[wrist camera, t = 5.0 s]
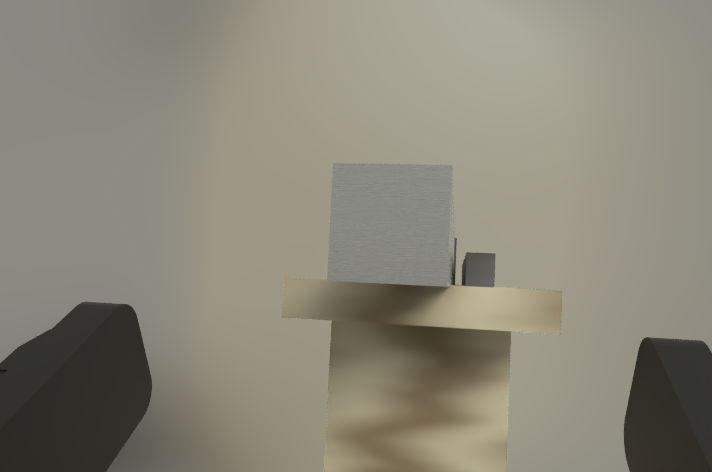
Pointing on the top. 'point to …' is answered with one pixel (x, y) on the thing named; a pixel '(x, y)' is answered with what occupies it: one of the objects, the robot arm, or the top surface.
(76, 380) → the robot arm
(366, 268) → the grey metal block
